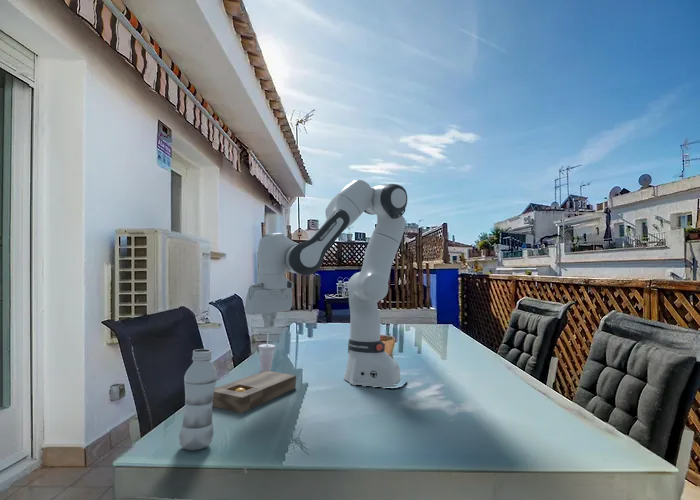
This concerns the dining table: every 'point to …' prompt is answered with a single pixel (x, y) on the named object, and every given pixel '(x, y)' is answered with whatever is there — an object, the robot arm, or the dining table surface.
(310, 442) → the dining table surface
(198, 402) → the plastic bottle
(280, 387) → the brown wooden holder
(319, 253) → the robot arm
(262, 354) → the smoothie
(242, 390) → the ball
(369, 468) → the dining table surface
